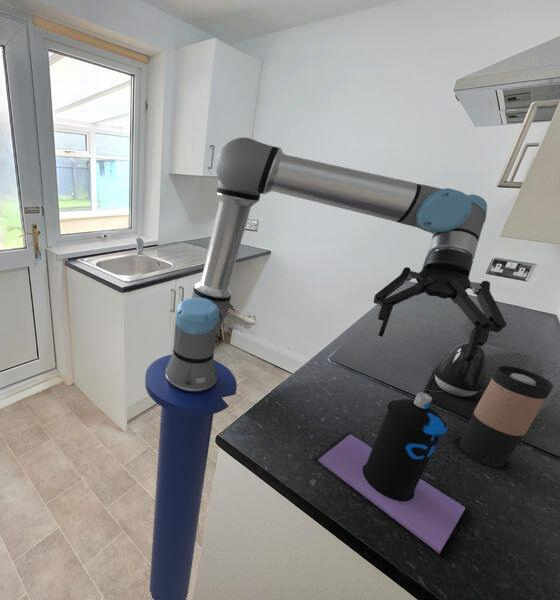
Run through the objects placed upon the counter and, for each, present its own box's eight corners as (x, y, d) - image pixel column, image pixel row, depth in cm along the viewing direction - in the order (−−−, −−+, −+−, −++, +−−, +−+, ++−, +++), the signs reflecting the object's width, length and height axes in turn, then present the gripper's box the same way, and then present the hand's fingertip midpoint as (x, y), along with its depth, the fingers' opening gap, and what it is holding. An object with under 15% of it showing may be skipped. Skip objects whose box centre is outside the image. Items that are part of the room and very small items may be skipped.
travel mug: (452, 434, 73) (489, 361, 65) (495, 447, 70) (539, 372, 62) (465, 458, 66) (508, 380, 59) (513, 474, 63) (565, 393, 56)
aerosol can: (352, 469, 61) (384, 386, 54) (380, 458, 64) (413, 377, 57) (395, 508, 54) (438, 418, 47) (424, 493, 57) (468, 406, 50)
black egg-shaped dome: (426, 389, 89) (447, 342, 84) (432, 375, 96) (451, 331, 90) (475, 407, 82) (500, 358, 77) (477, 392, 89) (501, 345, 83)
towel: (318, 461, 64) (318, 458, 63) (349, 435, 71) (350, 433, 70) (439, 553, 48) (440, 551, 48) (464, 510, 55) (465, 507, 55)
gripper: (524, 281, 62) (504, 377, 56) (377, 257, 76) (349, 332, 71) (545, 259, 56) (524, 363, 50) (382, 238, 70) (351, 317, 65)
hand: (422, 345), depth 60 cm, fingers open, 13 cm apart
